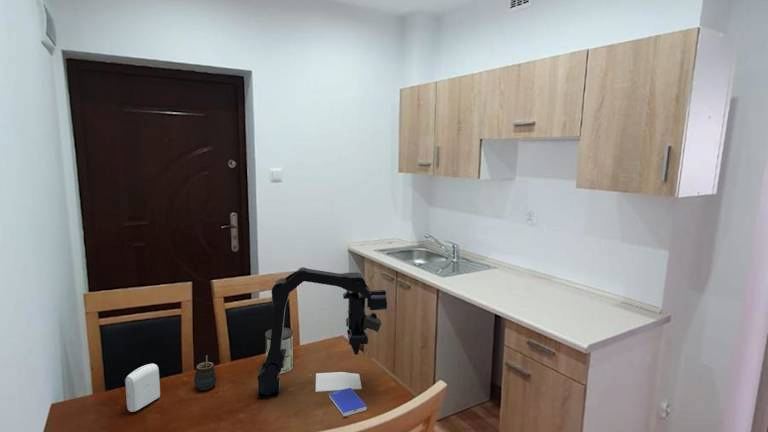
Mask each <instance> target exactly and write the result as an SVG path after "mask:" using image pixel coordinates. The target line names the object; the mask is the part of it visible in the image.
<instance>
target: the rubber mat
mask: <svg viewBox="0 0 768 432" xmlns="http://www.w3.org/2000/svg"><path fill="white" fill-rule="evenodd" d="M347 388H352V389H353V391H354V390H362V388H363V387H362V383H361V377H360V374H359V373H353V372H344V371H338V372H337V371H335V372H334V371H333V372H319V373H318V372H317V373H315V393H317V392H318V393H319V392H321V393H323V392H335V391H339V390H343V389H347Z"/></svg>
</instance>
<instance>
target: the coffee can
mask: <svg viewBox="0 0 768 432" xmlns="http://www.w3.org/2000/svg"><path fill="white" fill-rule="evenodd" d="M271 331H272V328H271V329H268V330H267V331H266V332H265V333H264V334H265V336H264V337H265V360H266V359H267V355H268V352H269V349H270V341H271ZM293 333H294V331H293V329H291V328H289V327H283V337H282V348H283V349H287V350H286V354H285V358H286V360H285V364H284V368H281V372H280V373H279V374H283V373H284V374H285V373H287V372H289V371H291V370H292V368H293V367H294V353H293V352H294V351H293V349H294V345H293V343H294V341H293V340H294V339H293V335H294V334H293Z"/></svg>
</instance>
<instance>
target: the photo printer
mask: <svg viewBox="0 0 768 432" xmlns="http://www.w3.org/2000/svg"><path fill="white" fill-rule="evenodd" d="M124 383H125V395H126V398H125V399H126V408H127V410H128V411H129V412H131V413H134V412H137V411H139V410H141V409H142V408H144V407H146V406H147V405H149V404H151V403H152V402H155V400H158V398H160V396H161V384H160V369H159V366H158V365H157V364H155V363H149V364H148V363H147V364H145V365H142V366H140V367H138V368H136V369H134V370H133V371H132V372H130V373H129V374H128V375H127V376H126V378H125V379H124Z"/></svg>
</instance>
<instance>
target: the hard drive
mask: <svg viewBox="0 0 768 432" xmlns="http://www.w3.org/2000/svg"><path fill="white" fill-rule="evenodd" d="M328 397H329V399H330V400H331V401H332V402H333V404H334V405H335V406H336V409H337V410H338V411H339V412H340V413H341V415H342V416H343V417H347V416H351V415H355V414H357V413H360V412H365V411H366V410H367V408H368V406H367V404H366V403H365V402H364V401H363V400H362V399H361V398H360V397H359V395H358V394H357V393H356V392H355V391H354V390H353V389H352V388H347V389H343V390H339V391H331V392H329V394H328Z"/></svg>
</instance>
